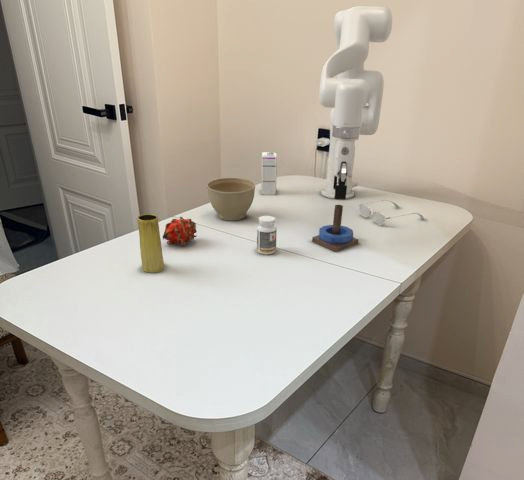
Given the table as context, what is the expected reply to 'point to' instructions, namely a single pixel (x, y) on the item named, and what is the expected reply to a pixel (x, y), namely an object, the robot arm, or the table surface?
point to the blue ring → (328, 237)
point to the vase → (150, 243)
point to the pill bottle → (266, 235)
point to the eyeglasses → (378, 216)
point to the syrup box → (269, 173)
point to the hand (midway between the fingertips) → (339, 194)
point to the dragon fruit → (179, 231)
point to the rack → (335, 233)
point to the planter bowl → (231, 197)
